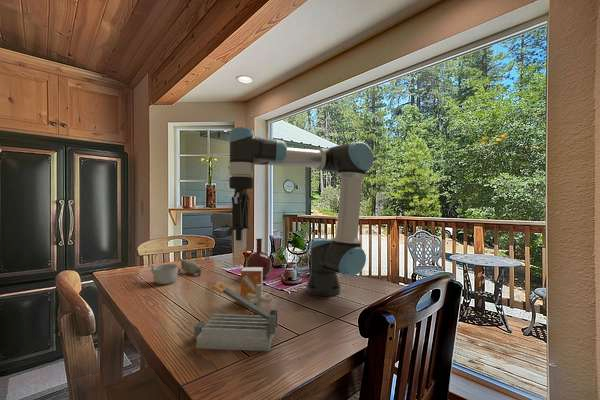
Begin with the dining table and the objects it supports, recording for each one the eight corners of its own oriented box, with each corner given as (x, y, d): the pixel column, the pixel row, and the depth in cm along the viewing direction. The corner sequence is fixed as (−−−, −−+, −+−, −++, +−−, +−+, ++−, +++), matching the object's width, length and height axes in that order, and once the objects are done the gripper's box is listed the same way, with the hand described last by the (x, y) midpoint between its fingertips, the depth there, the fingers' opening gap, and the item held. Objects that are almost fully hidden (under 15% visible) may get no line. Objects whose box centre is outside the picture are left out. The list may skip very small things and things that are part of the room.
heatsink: (278, 331, 90) (278, 305, 90) (273, 351, 78) (273, 321, 78) (204, 328, 91) (205, 303, 91) (188, 348, 79) (188, 318, 79)
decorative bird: (196, 277, 150) (196, 263, 150) (176, 273, 158) (176, 259, 158) (204, 275, 154) (204, 261, 154) (184, 271, 163) (184, 258, 163)
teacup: (182, 282, 141) (182, 265, 141) (161, 287, 132) (161, 270, 132) (165, 277, 148) (165, 262, 148) (144, 282, 139) (144, 266, 139)
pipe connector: (260, 320, 97) (260, 290, 97) (238, 314, 103) (238, 285, 103) (278, 311, 106) (278, 283, 106) (257, 305, 111) (257, 279, 111)
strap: (274, 319, 86) (277, 315, 86) (272, 326, 81) (274, 322, 81) (217, 283, 87) (219, 280, 87) (211, 289, 82) (214, 284, 82)
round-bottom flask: (246, 274, 156) (247, 237, 156) (271, 273, 158) (271, 237, 158) (244, 281, 143) (245, 240, 143) (271, 280, 145) (272, 240, 145)
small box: (240, 304, 112) (240, 270, 112) (242, 298, 118) (243, 266, 118) (261, 304, 112) (261, 270, 112) (262, 298, 119) (262, 266, 119)
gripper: (236, 178, 101) (235, 245, 101) (222, 174, 86) (221, 253, 86) (257, 178, 101) (257, 245, 101) (247, 174, 85) (246, 254, 85)
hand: (240, 249), depth 93 cm, fingers open, 3 cm apart
